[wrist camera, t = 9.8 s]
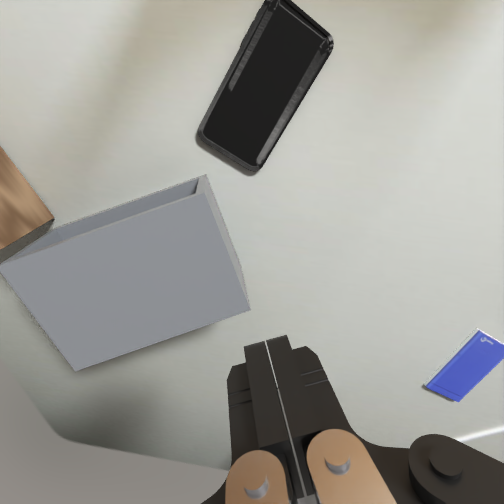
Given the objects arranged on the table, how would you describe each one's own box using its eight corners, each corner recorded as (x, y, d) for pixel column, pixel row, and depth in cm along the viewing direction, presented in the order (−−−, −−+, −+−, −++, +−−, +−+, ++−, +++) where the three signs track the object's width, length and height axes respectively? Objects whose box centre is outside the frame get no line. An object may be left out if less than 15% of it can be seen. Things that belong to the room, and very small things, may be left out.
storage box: (241, 266, 39) (250, 309, 30) (106, 313, 39) (75, 371, 30) (206, 174, 34) (204, 192, 25) (53, 228, 34) (-4, 266, 25)
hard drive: (481, 331, 47) (427, 388, 50) (514, 350, 49) (459, 403, 53) (473, 325, 48) (421, 381, 52) (505, 343, 51) (453, 395, 54)
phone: (338, 40, 30) (257, 175, 34) (334, 43, 31) (255, 173, 35) (271, -17, 28) (193, 135, 32) (269, -11, 29) (193, 134, 33)
